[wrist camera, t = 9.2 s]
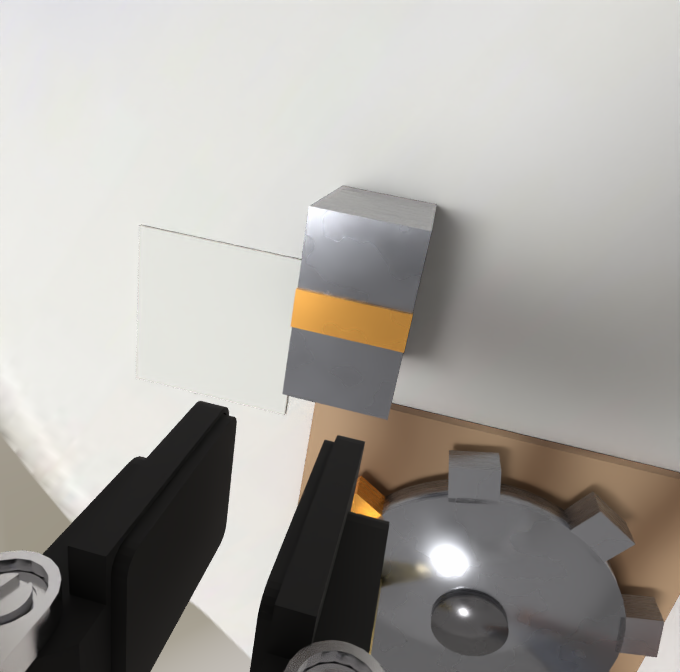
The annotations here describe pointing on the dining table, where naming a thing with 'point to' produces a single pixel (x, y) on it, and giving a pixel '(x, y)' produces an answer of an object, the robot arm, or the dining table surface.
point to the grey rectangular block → (356, 298)
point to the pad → (214, 318)
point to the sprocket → (501, 578)
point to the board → (525, 484)
